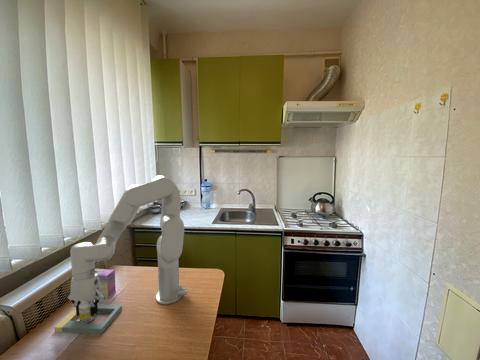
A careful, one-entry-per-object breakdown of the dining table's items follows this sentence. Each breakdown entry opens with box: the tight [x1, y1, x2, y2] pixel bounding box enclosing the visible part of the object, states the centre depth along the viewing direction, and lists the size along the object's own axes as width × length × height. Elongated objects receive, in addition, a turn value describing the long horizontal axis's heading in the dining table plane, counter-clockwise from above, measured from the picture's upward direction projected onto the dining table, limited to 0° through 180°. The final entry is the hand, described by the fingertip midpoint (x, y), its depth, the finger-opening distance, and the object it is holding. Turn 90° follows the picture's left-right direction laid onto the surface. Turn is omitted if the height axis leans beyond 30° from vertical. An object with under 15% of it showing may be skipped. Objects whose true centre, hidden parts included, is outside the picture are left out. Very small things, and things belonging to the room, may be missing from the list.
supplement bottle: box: [78, 300, 96, 324], centre depth 87 cm, size 5×5×10 cm
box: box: [95, 268, 117, 299], centre depth 104 cm, size 10×6×12 cm, turn 84°
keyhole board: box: [53, 304, 123, 335], centre depth 88 cm, size 19×13×2 cm
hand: (87, 313), depth 87 cm, fingers closed on supplement bottle, 5 cm apart
